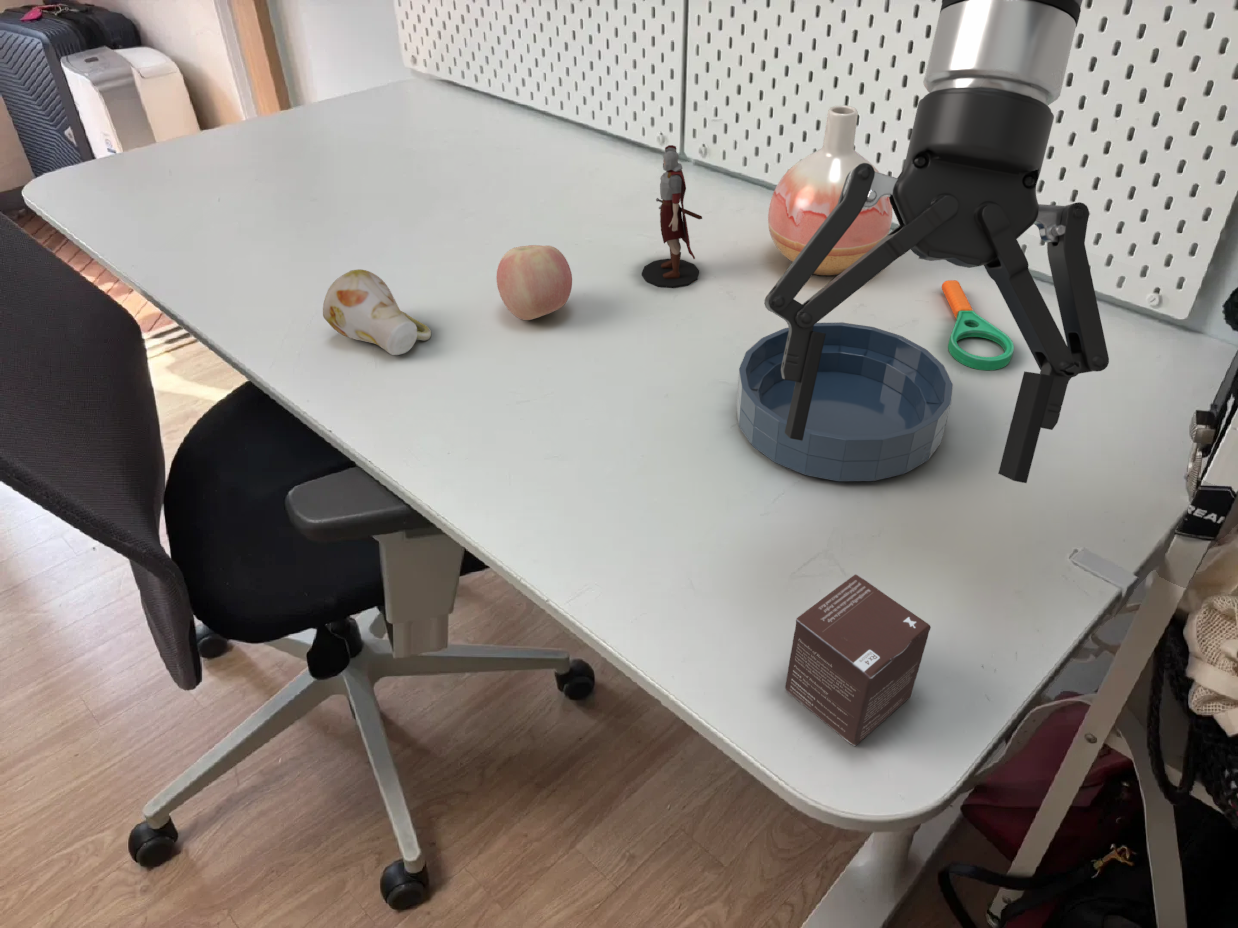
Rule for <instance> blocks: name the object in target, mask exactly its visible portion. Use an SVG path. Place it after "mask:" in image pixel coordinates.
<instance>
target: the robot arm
mask: <svg viewBox="0 0 1238 928" xmlns="http://www.w3.org/2000/svg"><path fill="white" fill-rule="evenodd" d="M1082 4H1083V0H941V6H940V11H939V15H938V19H937V23H936V27H935V32H934V36H933V39H932V44H931V48H930V53H929V57H928V61H927V64H926V69H925V73H924V78H923V87H924V88H925V89H926V91H927V92H928V93H927V94H925V95H924V96H923V98H921V99H920V100H919V101H918V103H917V108H916V112H915V117H914V120H913V125H912V130H911V135H910V139H909V143H908V147H907V152H906V156H905V160H904V165H903V167H902V170H901V172H900V174H899V175H898V176H897V177H894V176H892V175H888V174H886V173H885V174H884V173H882V172H880V171H878V172H876V171H874V168H873V167H872V165H873V164H872V165H870V164H868V163H862V164H859V165H858V166H857V167H855V168H854V169H853V170H852V171H851V172H849V173H848V175H847V177H846V180H845V183H844V186H843V189H842V192H841V195H840V198H839V201H838V204H837V205H836V207H835V208H834V209H833V211H832V212H831V213H830V214H829V216H828V217H827V218H826V220H825V221H824V222H823V224H822V225H821V226H820V227H819V229H818V230H817V231H816V233H815V234H814V235H813V236H812V238H811V239H810V240H809V242H808V243H807V244H806V246H805V247H804V248H803V249H802V251H801V252H800V253H799V255H798V256H797V257H796V259H795V260H794V261H793V262H792V261H791V264H790V265H789V266H788V268H787V269H786V270H785V271H784V272H783V274H782V275H781V277H780V278H779V279H778V280H777V282H776V283H775V284H774V286H773V287H772V288H771V290H770V291H769V292H768V294H767V295H766V296H765V299H764V308H765V309H766V310H767V311H769V312H771V313H773V314H774V315H776V316H777V317H779V318H781V319H783V320H784V321H785V322H786V324H787V326H788V327H789V333H788V337H787V342H786V347H785V351H784V356H783V361H782V366H781V374H782V378H783V379H785V380H790V381H795V387H794V392H793V396H792V401H791V405H790V410H789V415H788V419H787V424H786V429H785V434H786V435H787V436H788V437H789V438H791V439H796V440H801V441H802V440H803V436H804V431H805V427H806V422H807V418H808V413H809V408H810V404H811V399H812V395H813V390H814V386H815V381H816V377H817V372H818V367H819V363H820V358H821V354H822V349H823V345H824V340H825V335H826V333H820V332H815V331H813V326H814V324H816V323H819V321H821V320H822V319H824V318H825V317H826V316H827V315H829V313H831V312H832V311H833V310H835V309H836V308H837V307H838V306H840V305H841V304H842V303H843V302H845V301H846V300H847V299H849V297H851V296H852V295H853V294H855V293H857V291H858V290H860V289H861V288H862V287H864V286H865V285H866V284H867V283H869V282H870V281H871V280H872V279H873V278H875V277H876V276H878V275H879V274H880V273H881V272H883V270H885V269H886V268H887V267H889V266H890V265H891V264H892V263H894V262H895V261H896V260H898V259H899V258H901V257H903V256H904V255H905V254H907V252H909V251H911V252H912V253H913V254H914V255H915V256H916V257H918V260H925V261H929V262H933V261H935V262H936V261H947V262H949V263H951V264H952V265H954V266H956V267H962V268H966V269H967V268H968V269H970V268H976V267H980V266H983V267H984V269H985V271H986V272H987V274H988V276H989V278H990V279H992V280H993V281H994V282H995V283H994V284H996V286H997V288H998V290H999V292H1000V294H1001V296H1002V298H1003V300H1004V303H1005V304H1006V306H1007V308H1008V310H1009V312H1010V314H1011V316H1012V317H1013V319H1014V321H1015V323H1016V326H1017V327H1018V329H1019V332H1020V334H1021V335H1022V337H1023V339H1024V341H1025V344H1026V345H1027V347H1028V349H1029V351H1030V353H1031V355H1032V356H1033V359H1034V360H1035V362H1036V364H1037V367H1038V369H1039V370H1040V371H1039V373H1038V372H1030V371H1026V370H1025V371H1023V375H1022V379H1021V383H1020V386H1019V391H1018V396H1017V397H1016V402H1015V406H1014V411H1013V414H1012V418H1011V422H1010V426H1009V430H1008V434H1007V438H1006V442H1005V444H1004V449H1003V454H1002V457H1001V461H1000V465H999V469H998V475H1000V476H1002V477H1004V478H1007V479H1009V480H1011V481H1013V482H1018V483H1023V484H1027V483H1028V480H1029V479H1028V478H1029V475H1030V471H1031V467H1032V464H1033V460H1034V455H1035V452H1036V449H1037V444H1038V440H1039V437H1040V432H1041V429H1045V430H1051V431H1053V429H1055V427H1056V425H1057V424H1058V422H1059V419H1060V415H1061V411H1062V406H1063V404H1064V401H1065V396H1066V391H1067V388H1068V385H1069V382H1070V380H1072V378H1075V377H1077V376H1078V375H1079V374H1086V373H1092V372H1102V371H1104V370H1106V369H1107V367H1108V366H1109V364H1110V358H1109V352H1108V348H1107V343H1106V338H1105V333H1104V329H1103V324H1102V319H1101V314H1100V310H1099V305H1098V300H1097V296H1096V291H1095V286H1094V281H1093V277H1092V271H1091V268H1090V262H1089V259H1088V254H1087V248H1086V244H1085V243H1086V237H1087V236H1086V235H1087V229H1088V222H1089V216H1090V211H1089V210H1090V209H1089V207H1088V206H1087V204H1085V203H1083V202H1073V203H1070V204H1066V205H1057V204H1040V203H1039V202H1038V201H1039V200H1038V197H1037V186H1038V181H1039V178H1040V175H1041V171H1042V167H1043V164H1044V161H1045V156H1046V151H1047V147H1048V143H1049V140H1050V135H1051V131H1052V128H1053V123H1054V121H1055V114H1054V113H1053V111H1052V109H1051V108H1050V105H1051V104H1053V103H1054V102H1056V101H1057V100H1058V99H1059V98H1060V97H1061V93H1062V88H1063V84H1064V79H1065V76H1066V72H1067V67H1068V63H1069V58H1070V54H1071V50H1072V45H1073V41H1074V37H1075V33H1076V29H1077V27H1078V24H1079V20H1080V17H1081V11H1082V9H1081V8H1082ZM884 196H886V197H889V200H890V203H891V206H892V211H893V213H894V215H895V217H896V220H897V223H898V224H899V225H898V226H897V227H896V228H894V229H893V230H892V231H890V232H889V234H888V235H887V236H886V237H884V238H883V239H882V240H881V241H880V242H878V243H877V244H876V245H875V246H874V247H873V248H872V249H871V250H869V251H868V252H867V253H866V254H864V255H863V256H862V257H861V258H859V259H858V260H857V261H856V262H854V263H853V264H852V265H851V266H849V267H848V268H847V269H846V270H844V271H843V272H842V273H841V274H838V275H836V276H835V278H833V279H832V280H831V281H829V282H828V283H827V284H825V285H824V286H823V287H822V288H821V289H820V290H818V291H817V292H815V293H814V294H813V295H812V296H811V297H809V298H808V299H807V300H806V301H804V302H803V303H801V302H799V301H798V300H796V299H795V298H796V297H797V295H798V294H799V292H800V291H801V290H802V289H803V287H805V285H806V284H807V283H808V281H809V280H810V279H811V277H812V276H813V275H814V274H813V273H814V272H815V271H816V269H817V268H818V267H819V266H820V264H821V263H822V262H823V260H824V259H825V258H826V257H827V255H828V254H829V253H830V251H831V250H832V249H833V247H834V246H835V245H836V244H837V242H838V241H839V240H840V238H841V237H842V236H843V235H844V233H845V232H846V231H847V229H848V228H849V227H850V226H851V224H852V223H853V222H854V220H855V219H856V218H857V216H858V215H859V213H860V212H861V210H862V209H868V208H871V207H872V206H874V205H875V204H877V202H878V201H879V199H880V198H881V197H884ZM1033 225H1035V226H1036V228H1037V230H1038V233H1039V238H1040V240H1042V241H1043V242H1044V243H1046V251H1047V252H1046V253H1047V258H1048V265H1049V268H1050V274H1051V278H1052V283H1053V287H1054V291H1055V296H1056V301H1057V307H1058V310H1059V315H1060V319H1061V323H1062V328H1063V333H1064V337H1065V339H1064V337H1063V334H1062V333H1061V331H1060V329H1059V327H1058V325H1057V323H1056V321H1055V319H1054V318H1053V317H1054V316H1053V315H1052V314H1051V311H1050V309H1049V308H1048V307H1049V306H1048V305H1047V303H1046V301H1045V299H1044V298H1043V296H1042V293H1041V292H1040V289H1039V288H1038V286H1037V284H1036V282H1035V280H1034V278H1033V276H1032V274H1031V272H1030V270H1029V266H1030V265H1029V264H1030V263H1029V261H1028V259H1027V257H1026V255H1025V253H1024V251H1023V249H1022V247H1021V245H1020V243H1019V241H1018V239H1019V238H1020V237H1021V236H1022V235H1023V234H1024V233H1026V232H1027V231H1028V230H1029V229H1030V228H1031V227H1032V226H1033ZM788 327H787V328H788Z"/></svg>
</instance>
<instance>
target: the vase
mask: <svg viewBox="0 0 1238 928" xmlns="http://www.w3.org/2000/svg"><path fill="white" fill-rule="evenodd" d="M858 112H859V111H858V109H857V108H855V107H853V106H850V105H845V104H843V105H841V104H839V105H834V106H831V107H829V108H828V110H827V115H826V122H825V127H824V128H825V129H824V137H823V143H822V147H821V148H819V149H817V150H815V151H813V152H811V153H810V154H808V155H807V156H805V157H803V158H801V159H800V160H798V161H797V162H796V163H795V164H793V165H792V166H791V167H790V168H789V169H788V170H787V171H786V172H785V173H784V174H783V175H782V177H781V178H780V180H779V181H778V183H777V184H776V186H775V188H774V190H773V193H772V196H771V198H770V201H769V206H768V213H767V225H768V231H769V234H770V237H771V240H772V241H773V243H774V245H775V246H776V248H777V249H778V251H779V252H780V254H781V255H783V256H784V258H786V259H788V260H789V261H790V262H791V263H792V262H793V261H794V260H795V259H796V257H797V256H798V255H799V253H800V252H801V251H802V249H803V248H804V247H805V246H806V244H807V243H808V242H809V240H810V239H811V238H812V236H813V235H814V234H815V233H816V231H817V230H818V229H819V227H820V226H821V225H822V224H823V222H824V221H825V220H826V218H827V217H828V216H829V214H830V213H831V212H832V211H833V209H834V208H835V207H836V205H837V204H838V201H839V198H840V195H841V192H842V189H843V186H844V183H845V180H846V177H847V175H848V173H849V172H851V171H852V170H853V169H854V168H855V167H857V166H858V165H859V164H862V163H868V164H870V165H872V167H873V168H874V171H876V172H879V170H878V169H877V168H876V166H874V165H873V163H872V162H870V161H869V160H868V159H867V158H865V157H864V155H861V154H860V153H859V152H857V151H856V150H855V140H856V131H857V124H858V114H859V113H858ZM892 223H893V208H892V206H891V203H890V200H889V197H886V196H884V197H881V198H880V199H879V201H878V202H877V204H875V205H874V206H872V207H871V208H868V209H862V210H861V212H860V213H859V215H858V216H857V218H856V219H855V220H854V222H853V223H852V224H851V226H850V227H849V228H848V229H847V231H846V232H845V233H844V235H843V236H842V237H841V238H840V240H839V241H838V242H837V244H836V245H835V246H834V247H833V249H832V250H831V251H830V253H829V254H828V255H827V257H826V258H825V259H824V260H823V262H822V263H821V264H820V266H819V267H818V268H817V269H816V271H815V272H814V273H813V275H817V276H838V275H839V274H841V273H842V272H843V271H844V270H846V269H847V268H848V267H849V266H851V265H852V264H853V263H854V262H856V261H857V260H858V259H859V258H861V257H862V256H863V255H864V254H866V253H867V252H868V251H869V250H871V249H872V248H873V247H874V246H875V245H876V244H877V243H878V242H880V241H881V240H882V239H883V238H884V237H886V236H887V235H888V234H889V233H890V232H891V228H892Z"/></svg>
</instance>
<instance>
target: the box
mask: <svg viewBox="0 0 1238 928" xmlns="http://www.w3.org/2000/svg"><path fill="white" fill-rule="evenodd" d="M931 628H932V627H931V624H930V623H928V622H927V621H925V620H923V619H922V618H921V617H920V616H918V615H916V614H915V613H914V612H911V611H910V610H909V609H907V608H906V607H904V606H903V605H902V604H900V603H899V602H897V601H895V600H894V599H892V598H891V596H889V595H887V594H886V593H884V592H883V591H881V590H880V589H878V587H875V586H874V585H873V584H871V583H870V582H868V581H867V580H866V579H864V578H862V577H861V576H859V575H858V574H854V575H852V576H850V577H849V578H848V579H846V580H845V581H844V582H843V583H841V584H840V585H838V586H837V587H836V588H835V589H833V590H832V591H831V592H829V593H827V595H825V596H824V597H823V598H821V599H820V600H819V601H817V602H816V603H815V604H814V605H812V606H811V607H809V609H806V610H805V611H804V612H803V613H801V614H800V615H799V616H797V617H796V618H795V628H794V632H793V638H792V642H791V643H792V644H791V649H790V655H789V661H788V668H787V674H786V681H785V687H784V688H785V691H786V692H787V693H788V694H789V695H790V696H791V697H793V698H794V699H795V700H796V701H797V702H799V703H800V704H801V705H803V706H804V707H806V708H807V709H808V710H809V711H811V712H812V713H813V714H814V715H815V716H816V717H818V718H819V719H820V720H821V721H822V722H824V723H825V724H826V725H827V726H829V727H830V728H831V729H832V730H833V731H834V732H835V733H837V734H838V735H839V736H840V737H841V738H842V739H843V740H844V741H846V742H847V743H848V744H851V745H852V746H854V747H855V746H857V745H859V744H860V743H861V742H862V741H863V740H864V739H865V738H866V737H867V736H869V735H870V734H871V733H872V732H873V731H875V730H876V728H878V727H879V726H880V725H881V724H882V723H883V722H885V721H886V719H888V718H889V717H890V716H891V715H892V714H893V713H894V712H895V711H897V709H899V708H900V707H901V706H902V705H903V704H904V703H905V702H906V701H907V700H909V699H910V698H911V696H912V694H913V690H914V686H915V683H916V679H917V676H918V673H919V669H920V667H921V663H922V659H923V656H924V653H925V649H926V645H927V642H928V637H929V633H930V631H931Z"/></svg>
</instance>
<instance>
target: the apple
mask: <svg viewBox="0 0 1238 928" xmlns="http://www.w3.org/2000/svg"><path fill="white" fill-rule="evenodd" d="M496 287H497V290H498V293H499V296H500V298H501V300H502V303H503V304H504V306H505V307H506V308H507V310H508V311H509V312H510V314H512V315H513V316H514V317H516V318H518V319H520V320H522V321H523V320H524V321H531V320H535V319H538V318H540V317H543V316H547V315H549V314H551V313H553V312H555V311H558V310H560V309H562V308H563V307H564V306H565V305H566V303H567V302H568V300H569V298H570V296H571V293H572V289H573V273H572V270H571V267H570V264H569V262H568V260H567V257H565V255H564V253H562V252H561V251H560V249H558V248H557V247H554V246H553V245H539V244H538V245H537V244H531V245H530V244H529V245H521V246H516V247H513V248H511V249H509V250H508V251H506V252H505V253H504V255H502V257H501V259H500V261H499V263H498V265H497V269H496Z"/></svg>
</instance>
